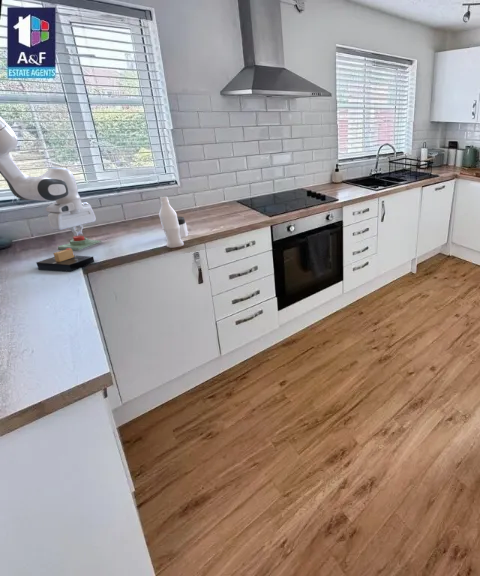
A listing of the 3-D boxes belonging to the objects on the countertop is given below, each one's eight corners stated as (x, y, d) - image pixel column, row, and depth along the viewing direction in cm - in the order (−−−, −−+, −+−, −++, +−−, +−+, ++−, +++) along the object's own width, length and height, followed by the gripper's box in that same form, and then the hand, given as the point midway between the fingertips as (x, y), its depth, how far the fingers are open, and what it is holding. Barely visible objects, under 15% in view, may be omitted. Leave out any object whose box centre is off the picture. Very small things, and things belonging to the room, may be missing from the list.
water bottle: (171, 253, 170) (157, 199, 159) (165, 250, 174) (151, 197, 164) (187, 250, 175) (175, 197, 164) (181, 246, 179) (169, 194, 168)
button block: (59, 251, 167) (56, 242, 165) (83, 243, 179) (81, 235, 177) (79, 252, 166) (77, 244, 164) (102, 245, 178) (100, 236, 176)
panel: (38, 269, 144) (36, 262, 143) (63, 261, 155) (61, 254, 153) (71, 272, 143) (69, 264, 142) (94, 263, 154) (92, 256, 152)
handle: (60, 261, 145) (57, 252, 143) (55, 261, 145) (53, 252, 144) (74, 257, 151) (72, 248, 149) (70, 256, 151) (67, 248, 150)
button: (71, 241, 169) (70, 237, 169) (79, 239, 173) (78, 235, 172) (79, 241, 169) (78, 238, 168) (87, 239, 173) (86, 236, 172)
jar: (174, 239, 191) (169, 216, 186) (191, 238, 193) (186, 215, 188) (168, 244, 183) (162, 221, 178) (186, 243, 185) (180, 220, 180)
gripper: (83, 201, 175) (90, 229, 180) (41, 208, 156) (51, 240, 161) (95, 201, 174) (102, 230, 179) (55, 209, 155) (65, 241, 161)
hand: (78, 235), depth 170 cm, fingers closed
